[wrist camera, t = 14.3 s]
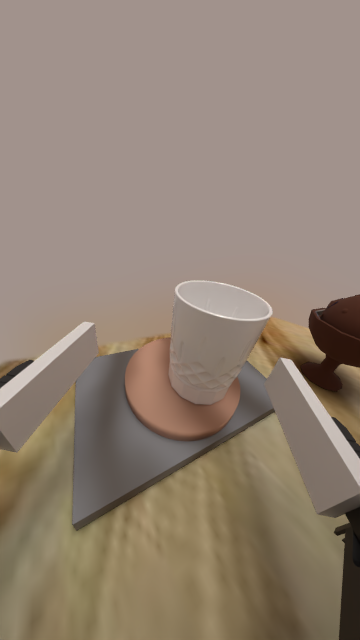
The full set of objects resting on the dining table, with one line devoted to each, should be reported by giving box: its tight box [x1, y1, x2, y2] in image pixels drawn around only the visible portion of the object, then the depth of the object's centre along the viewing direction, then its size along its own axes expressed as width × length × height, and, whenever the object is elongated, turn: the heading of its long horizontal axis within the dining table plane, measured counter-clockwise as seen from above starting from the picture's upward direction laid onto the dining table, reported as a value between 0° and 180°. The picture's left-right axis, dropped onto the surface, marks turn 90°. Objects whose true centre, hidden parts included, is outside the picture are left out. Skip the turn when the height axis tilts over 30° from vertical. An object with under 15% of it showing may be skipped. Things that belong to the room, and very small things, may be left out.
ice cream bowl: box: [301, 295, 360, 392], centre depth 23 cm, size 11×11×15 cm
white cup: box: [168, 280, 273, 405], centre depth 16 cm, size 8×8×10 cm
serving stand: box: [72, 338, 275, 530], centre depth 20 cm, size 22×14×3 cm, turn 117°
